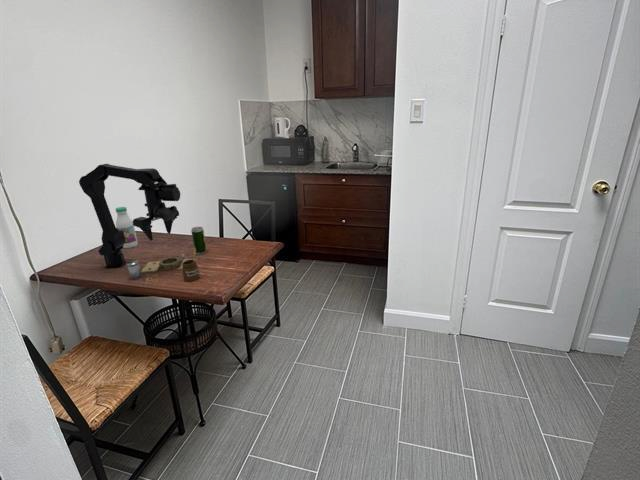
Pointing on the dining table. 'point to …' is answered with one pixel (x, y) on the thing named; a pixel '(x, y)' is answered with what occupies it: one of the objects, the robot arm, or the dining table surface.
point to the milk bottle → (126, 227)
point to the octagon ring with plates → (165, 264)
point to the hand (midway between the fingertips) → (160, 236)
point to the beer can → (199, 240)
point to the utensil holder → (190, 269)
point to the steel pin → (134, 269)
